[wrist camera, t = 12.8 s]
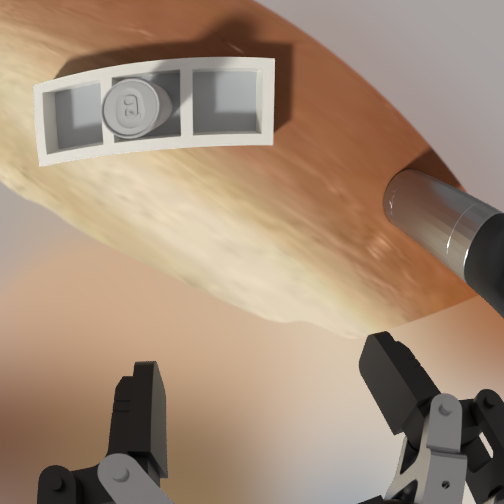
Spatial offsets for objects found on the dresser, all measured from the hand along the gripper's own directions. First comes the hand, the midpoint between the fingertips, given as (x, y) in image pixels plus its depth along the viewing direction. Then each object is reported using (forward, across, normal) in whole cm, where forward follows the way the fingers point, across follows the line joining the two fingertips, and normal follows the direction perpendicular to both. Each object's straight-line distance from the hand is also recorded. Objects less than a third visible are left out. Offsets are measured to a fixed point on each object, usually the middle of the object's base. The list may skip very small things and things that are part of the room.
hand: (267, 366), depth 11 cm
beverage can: (+28, +7, -9) cm, 30 cm away
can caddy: (+28, +7, -9) cm, 30 cm away
